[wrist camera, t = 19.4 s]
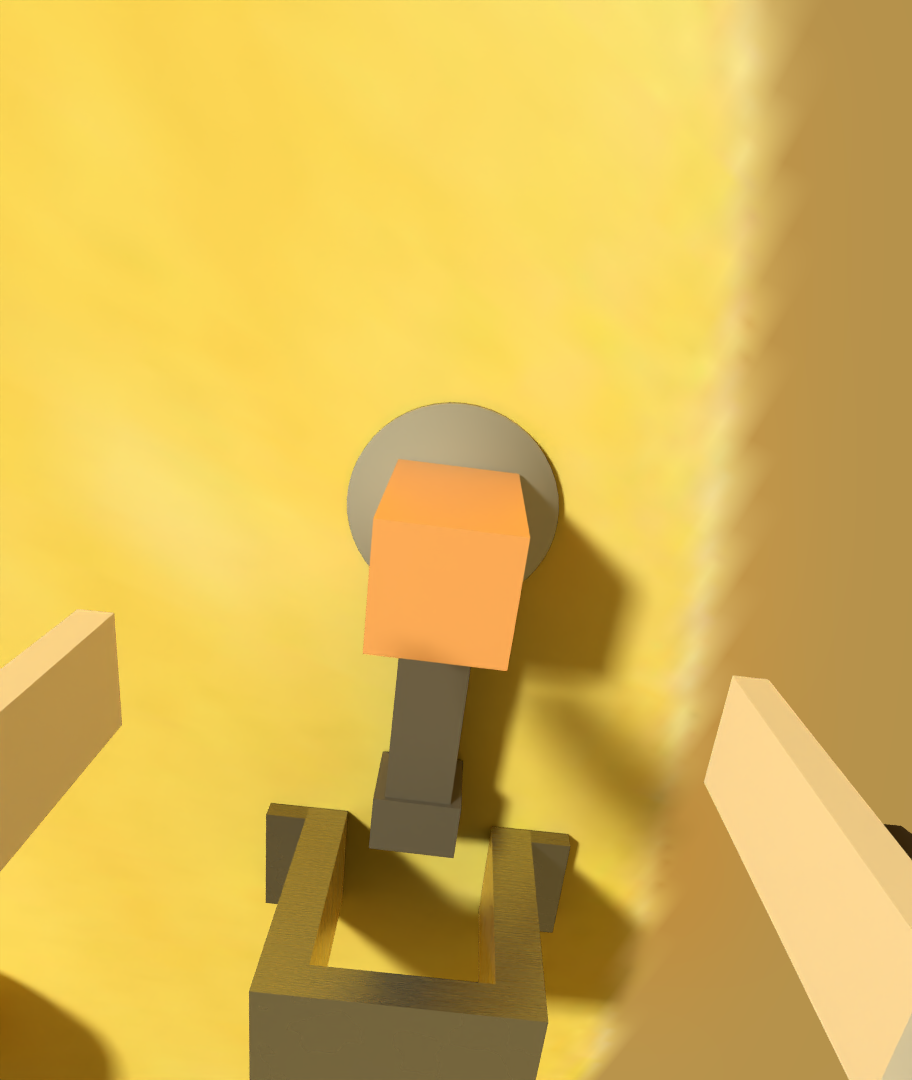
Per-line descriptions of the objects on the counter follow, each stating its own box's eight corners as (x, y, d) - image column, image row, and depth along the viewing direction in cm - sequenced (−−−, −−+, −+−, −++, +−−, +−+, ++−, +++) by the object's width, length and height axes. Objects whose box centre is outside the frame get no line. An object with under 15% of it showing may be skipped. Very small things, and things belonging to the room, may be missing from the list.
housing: (270, 890, 37) (201, 1087, 28) (270, 803, 35) (196, 986, 26) (550, 919, 37) (574, 1126, 28) (568, 834, 35) (600, 1027, 26)
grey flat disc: (344, 591, 31) (342, 595, 30) (354, 391, 28) (352, 392, 27) (541, 612, 31) (542, 616, 30) (573, 414, 28) (574, 416, 27)
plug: (368, 796, 35) (342, 919, 28) (398, 458, 28) (373, 518, 21) (465, 808, 35) (461, 933, 28) (519, 473, 28) (530, 538, 21)
